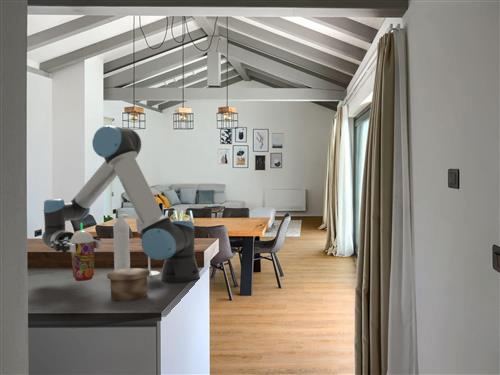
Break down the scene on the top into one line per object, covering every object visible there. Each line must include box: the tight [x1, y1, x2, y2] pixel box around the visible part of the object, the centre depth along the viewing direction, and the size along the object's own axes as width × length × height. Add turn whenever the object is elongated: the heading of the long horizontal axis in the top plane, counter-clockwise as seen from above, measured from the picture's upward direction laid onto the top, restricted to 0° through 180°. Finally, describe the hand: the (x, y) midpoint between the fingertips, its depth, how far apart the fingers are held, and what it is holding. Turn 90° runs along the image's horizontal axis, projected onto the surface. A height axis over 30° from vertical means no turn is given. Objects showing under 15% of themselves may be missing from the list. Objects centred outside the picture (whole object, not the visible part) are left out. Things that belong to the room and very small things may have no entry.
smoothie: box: [69, 222, 95, 282], centre depth 157 cm, size 8×8×20 cm
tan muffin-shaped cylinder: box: [106, 267, 151, 302], centre depth 153 cm, size 14×14×8 cm
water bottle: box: [112, 213, 131, 271], centre depth 188 cm, size 9×6×25 cm
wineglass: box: [135, 217, 161, 277], centre depth 187 cm, size 9×10×23 cm
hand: (87, 246), depth 154 cm, fingers closed on smoothie, 8 cm apart
